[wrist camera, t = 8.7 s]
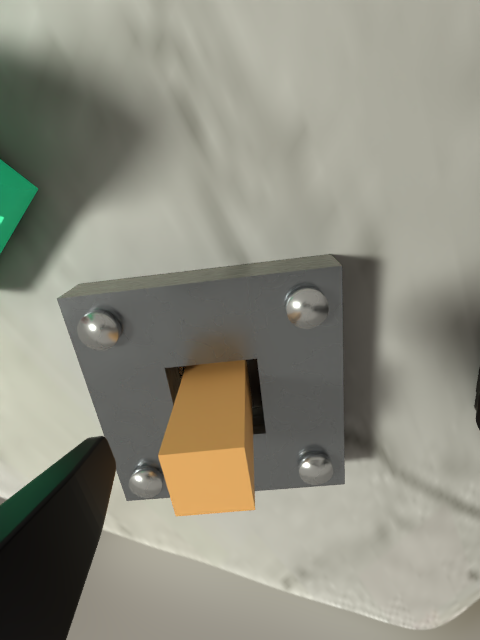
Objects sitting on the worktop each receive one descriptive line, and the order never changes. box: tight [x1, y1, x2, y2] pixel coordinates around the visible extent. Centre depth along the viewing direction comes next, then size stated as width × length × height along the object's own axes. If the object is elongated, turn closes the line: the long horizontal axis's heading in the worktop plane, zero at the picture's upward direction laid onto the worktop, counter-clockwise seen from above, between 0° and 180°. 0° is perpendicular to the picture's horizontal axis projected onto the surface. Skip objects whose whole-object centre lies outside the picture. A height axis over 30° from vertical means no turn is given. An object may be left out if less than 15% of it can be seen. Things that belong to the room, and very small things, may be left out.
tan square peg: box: [158, 360, 255, 516], centre depth 18 cm, size 4×4×8 cm
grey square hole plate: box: [57, 254, 345, 501], centre depth 20 cm, size 14×14×3 cm
